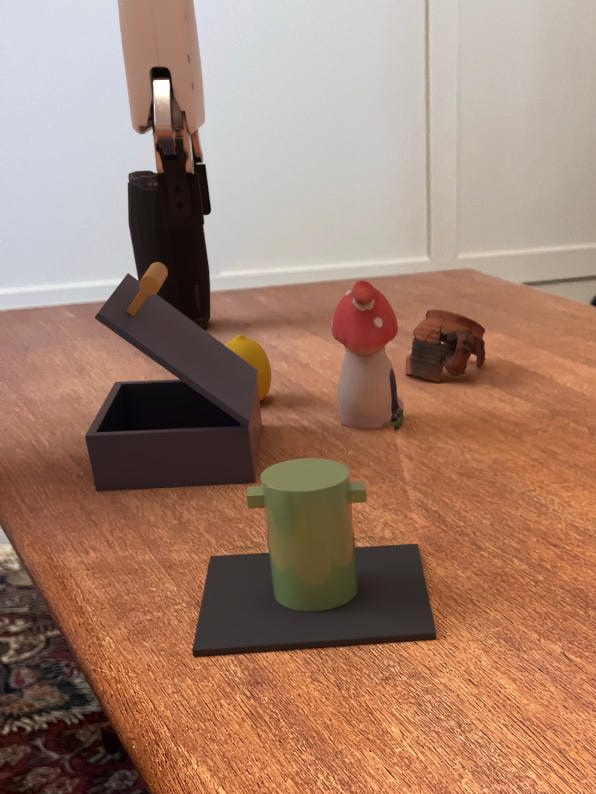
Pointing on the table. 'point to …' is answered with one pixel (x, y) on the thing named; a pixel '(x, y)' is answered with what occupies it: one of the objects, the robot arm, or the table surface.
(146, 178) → the portable speaker
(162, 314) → the box lid
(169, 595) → the table surface
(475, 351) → the brown carved piece
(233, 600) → the grey mat
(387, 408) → the decorative ornament
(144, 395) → the box
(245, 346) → the lemon
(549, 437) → the table surface
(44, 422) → the table surface
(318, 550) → the green pot
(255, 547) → the table surface
